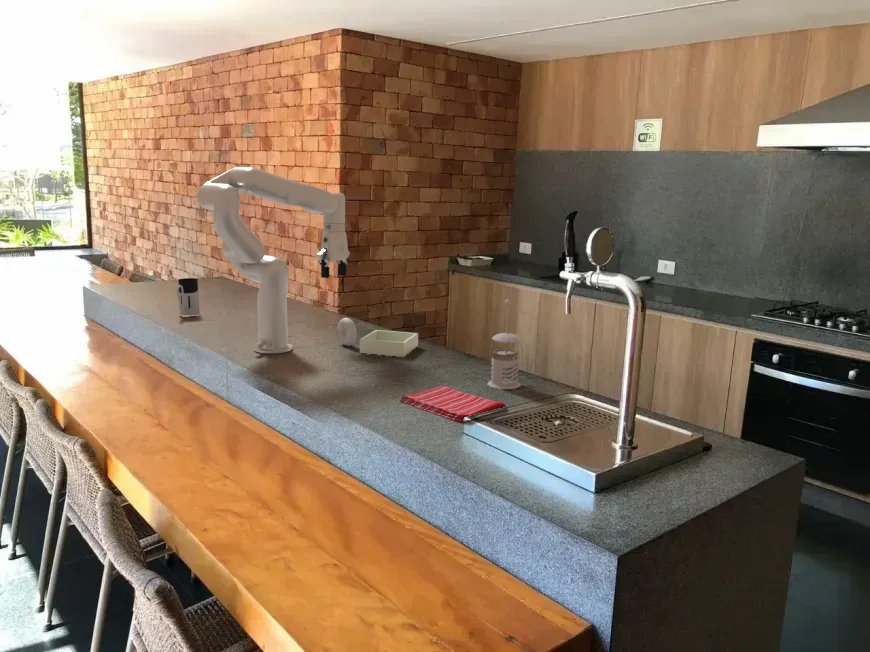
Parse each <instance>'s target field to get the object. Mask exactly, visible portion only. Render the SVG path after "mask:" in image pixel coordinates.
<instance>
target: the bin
mask: <svg viewBox="0 0 870 652" xmlns="http://www.w3.org/2000/svg"><path fill="white" fill-rule="evenodd" d="M416 347H419V333H418V332H408V331H394V330H384V329H383V330H382V329H375V330H373V331H371V332H369V333H368V334H366V335H364V336H362V337H361V338H360V339H359V354H360V353H367V354H366V355H370V354H377V355H376V356H381V355H385V356H384V357H392V356H396V357H395V358H403V357H404V358H406V357H407V356H408V355H410V354H411V353H412V352H413V351H412V350H413V349H415V348H416ZM416 349H417V348H416ZM416 349H415V350H416ZM411 351H412V352H411ZM410 352H411V353H410ZM409 353H410V354H409ZM407 354H408V355H407ZM406 355H407V356H406ZM405 356H406V357H405Z"/></svg>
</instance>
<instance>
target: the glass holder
mask: <svg viewBox="0 0 870 652" xmlns="http://www.w3.org/2000/svg"><path fill="white" fill-rule="evenodd" d="M199 292H200V291H199V281H198V278H194V277H191V278H189V277H188V278H184V277H183V278H179V279H178V285H177V288H176V293H177V294H176V296H177V300H178V305H179V306H178V307H179V314H180V315H199V314H201V311H200V295H199V294H200V293H199ZM179 314H178V315H179Z"/></svg>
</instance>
